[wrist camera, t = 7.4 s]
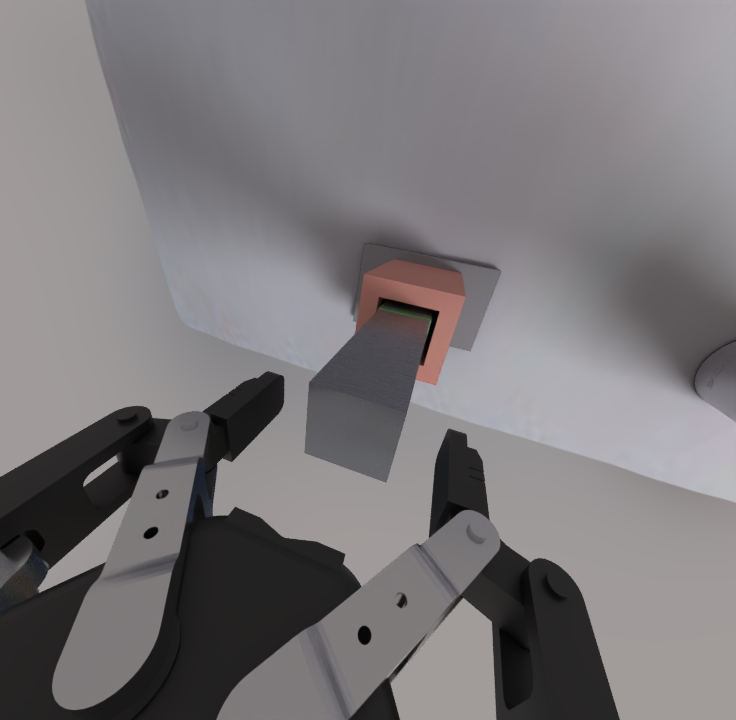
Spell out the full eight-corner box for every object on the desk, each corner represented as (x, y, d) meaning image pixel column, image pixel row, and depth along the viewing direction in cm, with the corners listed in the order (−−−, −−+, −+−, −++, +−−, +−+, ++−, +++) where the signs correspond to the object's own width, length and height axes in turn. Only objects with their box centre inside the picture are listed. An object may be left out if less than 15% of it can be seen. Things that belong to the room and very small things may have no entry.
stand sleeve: (499, 269, 31) (532, 299, 18) (469, 346, 35) (478, 414, 22) (367, 243, 33) (313, 251, 21) (356, 317, 38) (306, 363, 25)
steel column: (436, 299, 26) (408, 412, 10) (425, 337, 28) (387, 483, 12) (395, 289, 27) (307, 381, 11) (387, 327, 28) (303, 453, 13)
